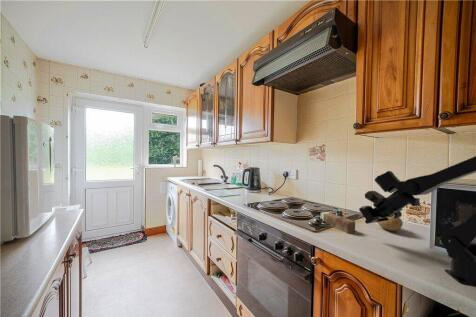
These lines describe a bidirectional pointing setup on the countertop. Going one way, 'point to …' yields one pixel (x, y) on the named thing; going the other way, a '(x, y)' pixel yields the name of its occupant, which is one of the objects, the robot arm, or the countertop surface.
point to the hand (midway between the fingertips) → (366, 222)
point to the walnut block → (339, 222)
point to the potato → (391, 224)
